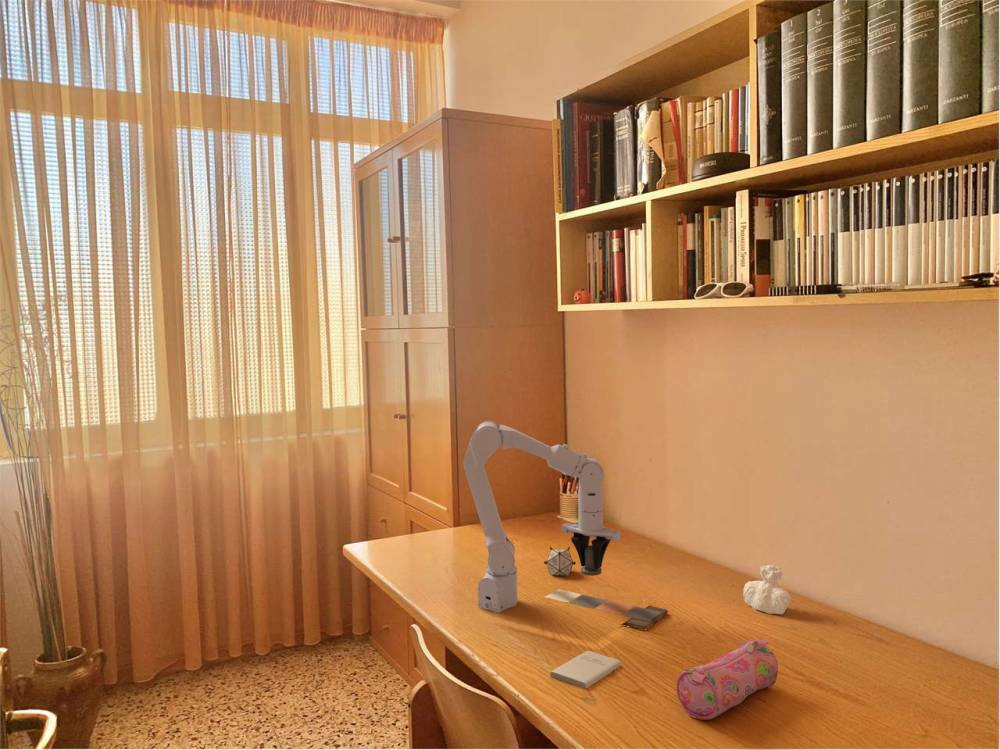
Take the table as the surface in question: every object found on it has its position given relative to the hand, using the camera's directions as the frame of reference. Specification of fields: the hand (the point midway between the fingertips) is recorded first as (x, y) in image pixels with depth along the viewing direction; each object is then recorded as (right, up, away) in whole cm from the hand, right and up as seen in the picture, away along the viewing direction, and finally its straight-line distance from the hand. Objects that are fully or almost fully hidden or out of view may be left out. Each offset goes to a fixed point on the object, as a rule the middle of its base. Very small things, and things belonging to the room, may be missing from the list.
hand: (591, 566), depth 187 cm
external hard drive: (-5, -13, -33) cm, 36 cm away
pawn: (0, -1, 0) cm, 1 cm away
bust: (+41, -10, -2) cm, 42 cm away
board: (+2, -10, -1) cm, 10 cm away
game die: (-6, -9, +22) cm, 24 cm away
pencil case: (+19, -13, -46) cm, 51 cm away
